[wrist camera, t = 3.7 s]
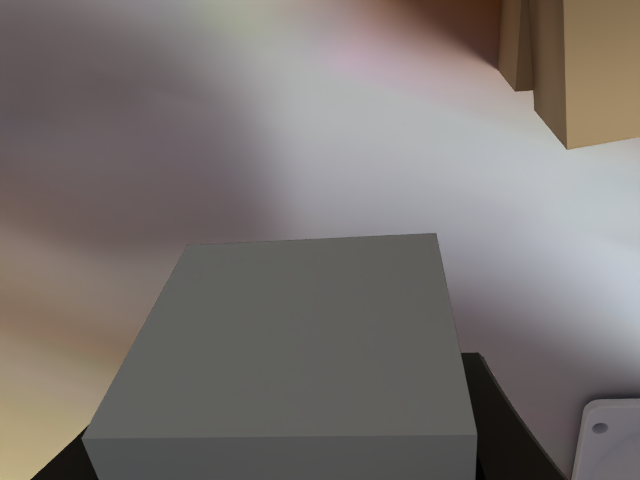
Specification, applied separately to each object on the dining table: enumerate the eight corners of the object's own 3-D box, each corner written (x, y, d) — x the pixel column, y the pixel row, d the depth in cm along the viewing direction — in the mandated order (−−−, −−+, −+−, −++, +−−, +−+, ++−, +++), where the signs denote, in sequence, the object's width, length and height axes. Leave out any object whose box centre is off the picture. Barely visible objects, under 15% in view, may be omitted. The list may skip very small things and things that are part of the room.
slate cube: (436, 418, 14) (467, 653, 9) (229, 421, 14) (168, 644, 10) (435, 232, 11) (477, 435, 7) (187, 245, 12) (81, 439, 7)
